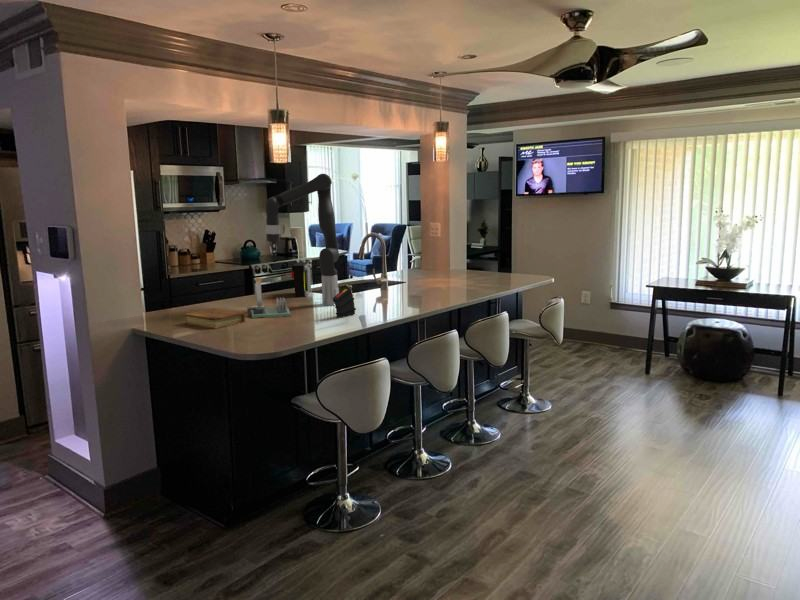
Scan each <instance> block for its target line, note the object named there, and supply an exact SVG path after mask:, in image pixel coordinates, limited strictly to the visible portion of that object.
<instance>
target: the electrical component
mask: <svg viewBox="0 0 800 600" xmlns="http://www.w3.org/2000/svg"><path fill="white" fill-rule="evenodd" d="M311 268H312V264H311V263H310V262H308V261H307V262H305V261H304V262H303V261H302V262H301V261H300V262H296V263H295V262H294V264H292V265H291V272H290V274H291V278H292V279H293V283H294V298H306V297H307V296H309V294H310V293H311V292H313V289H312V285H311V284H312V283H311V282H312V281H311V280H312V279H311V276H312V275H311Z"/></svg>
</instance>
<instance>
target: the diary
mask: <svg viewBox="0 0 800 600" xmlns="http://www.w3.org/2000/svg"><path fill="white" fill-rule="evenodd" d="M184 316H185V317H186V322H185V323H184V324H185V325H188V326H189V325H190V326H195V327H200V328H206V329H213V330H219V329H223V328H226V327H227V326H228V327H232V326H236V325H239V324H238V323H240V324H243V323H242V322H245V323H246V314H245V313H244V312H241V311H233V310H228V309H219V308H213V307H212V308H208V309H204V310H198V311H192V312H187V313H184ZM235 324H236V325H235ZM231 325H232V326H231Z"/></svg>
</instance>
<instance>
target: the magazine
mask: <svg viewBox="0 0 800 600" xmlns="http://www.w3.org/2000/svg"><path fill="white" fill-rule="evenodd" d="M352 291H353V290H352V289H351V288H350V287H349V286H348V287H345V288H343V289H342V290H341V291H339V293H338V294H337V295H336V296H335V297H333V302H335V305H334V308H335V310H336V312H335V315H336V317H337V318H340V317H341V318H344V317H343V316H346V317H349V316H348V315H351V316H354V315H353V314H355V315H356V310H357V308H356V306H355V297H354V296H353V293H352Z"/></svg>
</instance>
